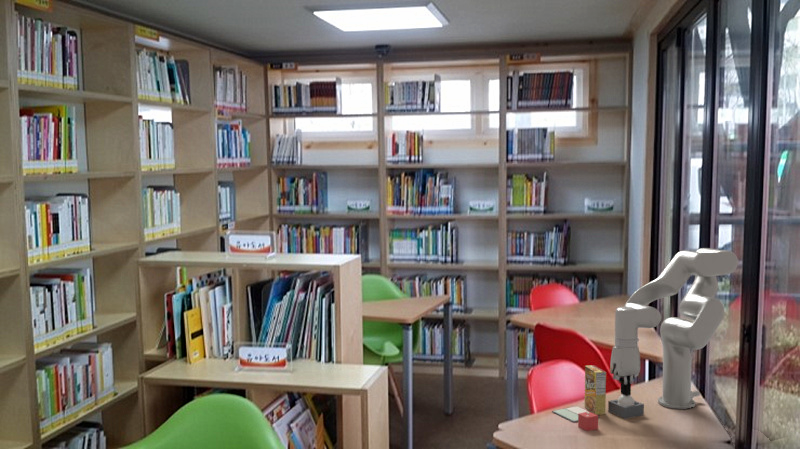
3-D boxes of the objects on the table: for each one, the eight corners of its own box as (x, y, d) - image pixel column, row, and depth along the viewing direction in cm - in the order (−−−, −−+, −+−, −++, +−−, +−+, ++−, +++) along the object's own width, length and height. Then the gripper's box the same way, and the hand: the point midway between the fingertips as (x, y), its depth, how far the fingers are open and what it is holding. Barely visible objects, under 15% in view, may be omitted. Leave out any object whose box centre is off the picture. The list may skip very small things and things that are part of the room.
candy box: (583, 407, 255) (584, 365, 253) (594, 406, 255) (594, 364, 254) (595, 415, 246) (595, 372, 245) (606, 414, 247) (606, 371, 246)
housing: (626, 407, 253) (626, 397, 253) (643, 414, 245) (643, 404, 245) (608, 411, 249) (608, 401, 249) (625, 418, 242) (625, 408, 242)
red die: (588, 424, 237) (588, 411, 237) (597, 428, 233) (598, 415, 233) (578, 426, 235) (578, 413, 235) (587, 431, 231) (587, 417, 231)
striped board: (576, 407, 255) (576, 405, 254) (599, 417, 244) (599, 416, 244) (552, 412, 250) (552, 410, 250) (573, 422, 239) (573, 421, 239)
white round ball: (626, 406, 251) (626, 390, 251) (637, 410, 246) (637, 395, 246) (614, 408, 249) (614, 393, 248) (625, 413, 244) (625, 397, 243)
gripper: (634, 338, 252) (634, 388, 253) (602, 342, 246) (601, 394, 247) (650, 342, 245) (649, 394, 247) (617, 347, 239) (616, 400, 240)
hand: (625, 394), depth 247 cm, fingers closed
